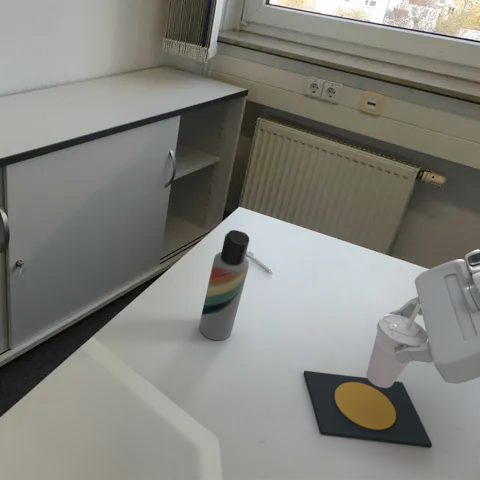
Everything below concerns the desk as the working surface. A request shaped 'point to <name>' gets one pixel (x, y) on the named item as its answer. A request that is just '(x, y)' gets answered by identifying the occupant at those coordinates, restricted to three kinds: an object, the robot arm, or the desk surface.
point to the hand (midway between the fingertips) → (393, 337)
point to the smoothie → (393, 347)
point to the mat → (364, 409)
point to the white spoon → (259, 261)
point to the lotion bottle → (225, 287)
